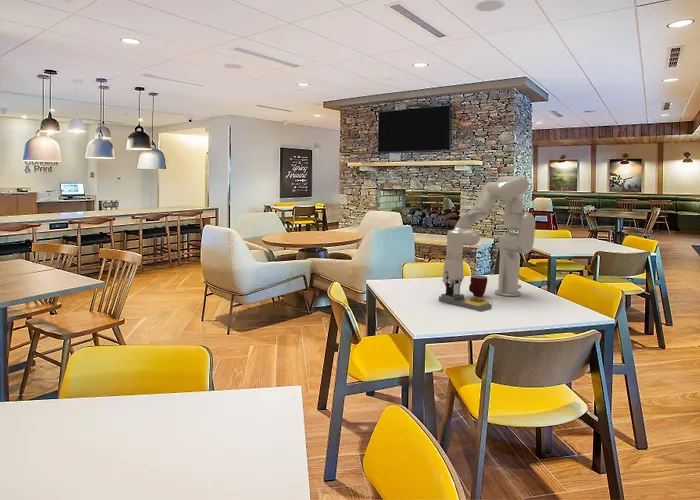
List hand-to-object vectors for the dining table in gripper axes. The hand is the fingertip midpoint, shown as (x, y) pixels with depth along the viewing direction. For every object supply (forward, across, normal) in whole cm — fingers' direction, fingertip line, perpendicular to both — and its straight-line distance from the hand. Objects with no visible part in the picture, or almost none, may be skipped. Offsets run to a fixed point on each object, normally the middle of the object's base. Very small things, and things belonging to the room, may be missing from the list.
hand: (452, 293), depth 235 cm
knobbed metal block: (+2, 0, 0) cm, 2 cm away
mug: (+4, -18, +1) cm, 18 cm away
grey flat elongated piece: (+4, 0, +7) cm, 8 cm away
